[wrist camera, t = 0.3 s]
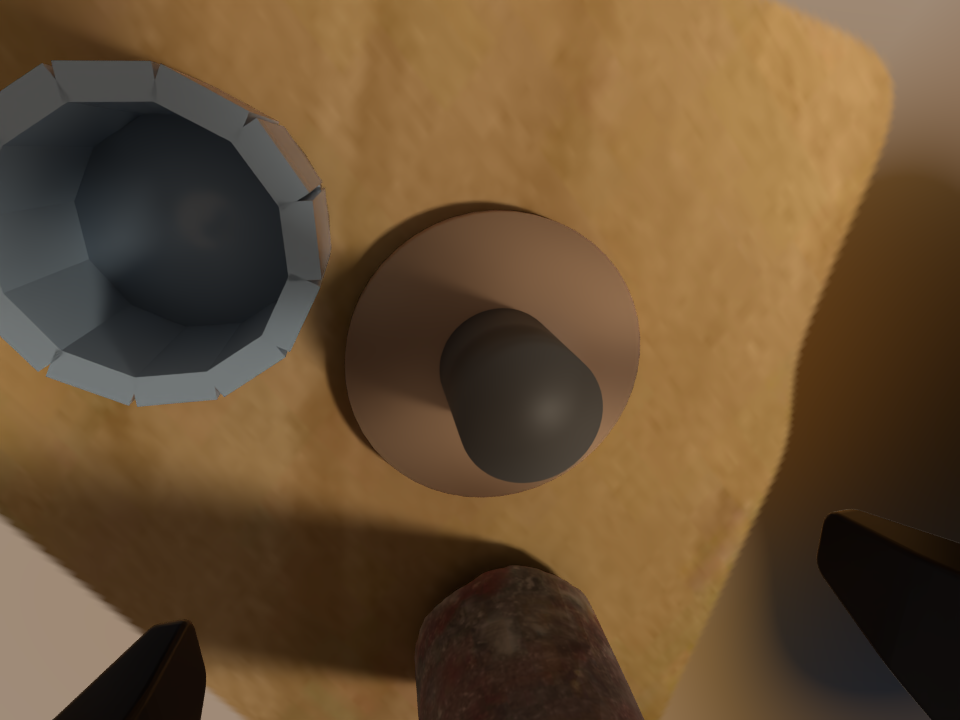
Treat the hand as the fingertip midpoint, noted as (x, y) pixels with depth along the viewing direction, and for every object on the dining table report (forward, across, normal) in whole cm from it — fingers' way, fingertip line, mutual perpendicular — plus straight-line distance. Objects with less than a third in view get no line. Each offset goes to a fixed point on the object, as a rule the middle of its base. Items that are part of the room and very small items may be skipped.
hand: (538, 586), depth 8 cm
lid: (+12, -2, +1) cm, 12 cm away
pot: (+12, +6, -4) cm, 14 cm away
